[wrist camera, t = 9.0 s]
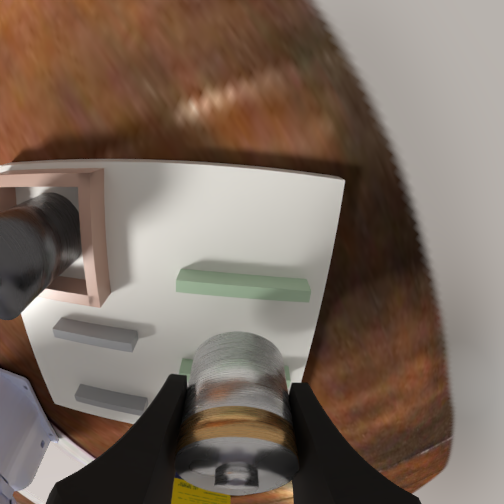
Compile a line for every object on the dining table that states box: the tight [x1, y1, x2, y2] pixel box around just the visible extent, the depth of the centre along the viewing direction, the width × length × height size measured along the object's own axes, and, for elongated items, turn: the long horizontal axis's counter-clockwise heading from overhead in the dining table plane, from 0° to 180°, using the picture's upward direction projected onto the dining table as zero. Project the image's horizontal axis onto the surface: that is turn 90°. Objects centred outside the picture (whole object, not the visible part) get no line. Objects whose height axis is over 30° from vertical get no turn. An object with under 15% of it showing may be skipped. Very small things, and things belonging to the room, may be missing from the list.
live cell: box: [174, 331, 299, 495], centre depth 10 cm, size 4×4×6 cm
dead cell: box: [0, 192, 82, 320], centre depth 11 cm, size 4×4×6 cm
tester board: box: [0, 159, 345, 424], centre depth 16 cm, size 18×18×3 cm
